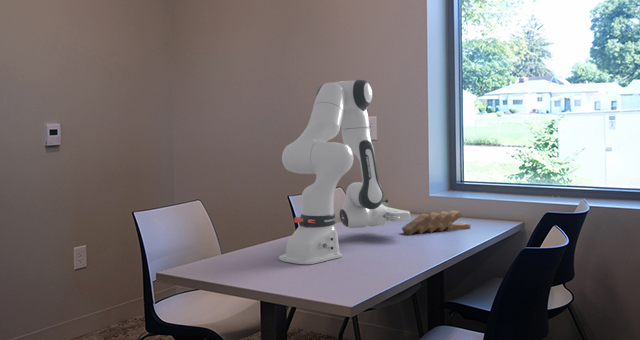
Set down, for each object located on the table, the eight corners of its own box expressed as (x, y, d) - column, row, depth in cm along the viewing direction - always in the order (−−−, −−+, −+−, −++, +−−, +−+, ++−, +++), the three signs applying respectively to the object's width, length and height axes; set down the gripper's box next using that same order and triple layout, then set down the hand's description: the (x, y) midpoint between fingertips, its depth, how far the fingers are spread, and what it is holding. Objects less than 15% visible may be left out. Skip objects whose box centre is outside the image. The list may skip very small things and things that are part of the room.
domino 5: (448, 226, 226) (470, 224, 231) (440, 224, 230) (462, 222, 235) (448, 231, 226) (470, 229, 231) (440, 230, 230) (462, 227, 235)
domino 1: (408, 230, 217) (429, 214, 221) (401, 228, 222) (422, 213, 226) (410, 235, 218) (431, 219, 222) (403, 233, 222) (425, 217, 226)
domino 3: (429, 227, 222) (450, 212, 225) (422, 225, 226) (443, 210, 230) (431, 232, 222) (452, 217, 226) (424, 230, 227) (445, 215, 230)
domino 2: (418, 229, 219) (439, 213, 223) (412, 227, 224) (432, 211, 228) (421, 233, 220) (442, 218, 224) (414, 231, 225) (435, 216, 228)
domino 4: (439, 226, 224) (459, 211, 227) (432, 224, 228) (452, 209, 232) (441, 231, 224) (461, 216, 228) (434, 229, 229) (454, 214, 233)
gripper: (391, 210, 204) (421, 207, 210) (365, 204, 223) (393, 202, 229) (391, 226, 205) (421, 223, 210) (365, 219, 223) (393, 216, 229)
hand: (406, 212), depth 220 cm, fingers closed
